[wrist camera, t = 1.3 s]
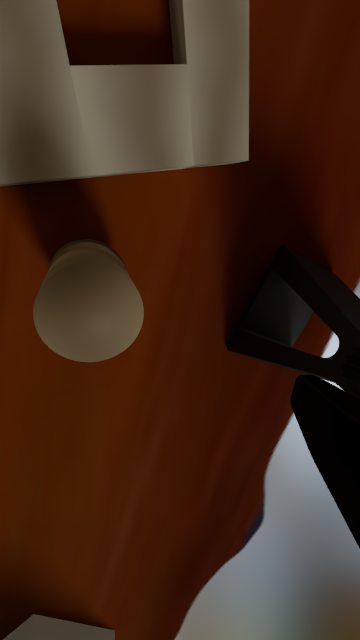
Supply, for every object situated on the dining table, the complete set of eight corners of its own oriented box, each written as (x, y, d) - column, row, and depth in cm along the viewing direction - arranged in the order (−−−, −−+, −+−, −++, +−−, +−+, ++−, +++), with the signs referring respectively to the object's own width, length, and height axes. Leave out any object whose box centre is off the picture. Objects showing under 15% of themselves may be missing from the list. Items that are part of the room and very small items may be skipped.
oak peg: (62, 306, 18) (50, 374, 11) (43, 239, 17) (13, 272, 10) (127, 293, 19) (152, 350, 12) (115, 229, 18) (136, 252, 11)
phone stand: (281, 244, 21) (472, 293, 11) (332, 274, 24) (528, 337, 13) (225, 347, 24) (339, 471, 13) (277, 364, 26) (409, 480, 16)
